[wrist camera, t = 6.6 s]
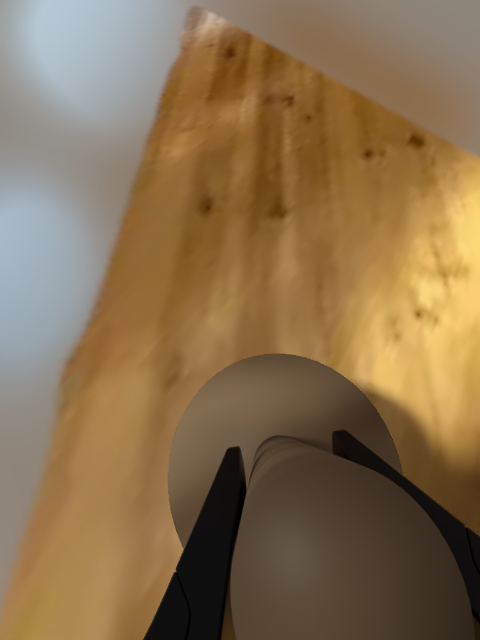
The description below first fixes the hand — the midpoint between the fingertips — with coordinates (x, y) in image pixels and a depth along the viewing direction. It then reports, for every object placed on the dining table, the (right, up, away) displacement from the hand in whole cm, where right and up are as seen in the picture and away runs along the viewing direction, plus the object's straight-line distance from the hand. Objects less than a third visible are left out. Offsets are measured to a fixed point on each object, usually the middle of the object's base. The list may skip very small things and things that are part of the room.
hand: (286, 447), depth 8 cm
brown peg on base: (+1, -4, +6) cm, 7 cm away
